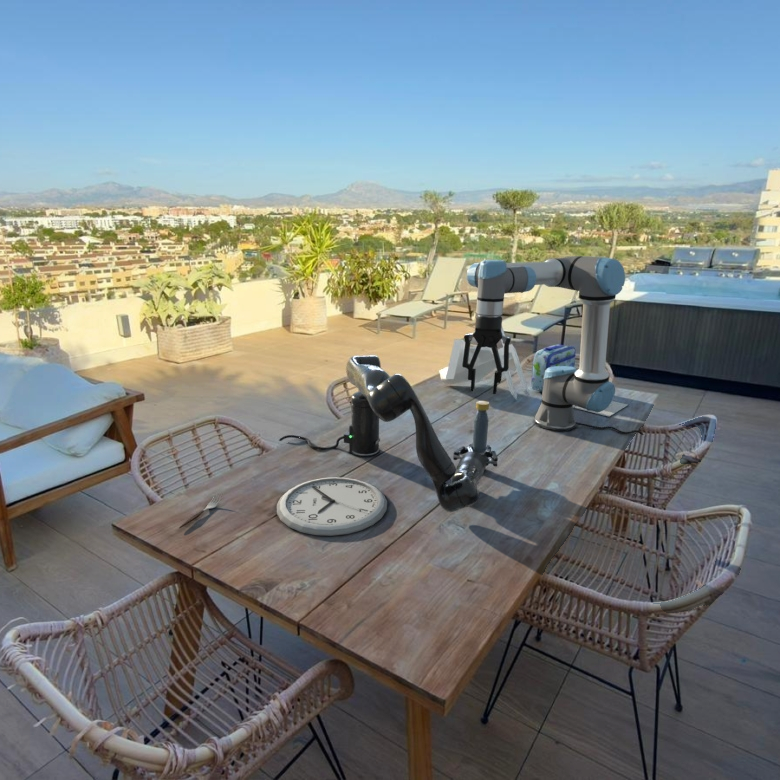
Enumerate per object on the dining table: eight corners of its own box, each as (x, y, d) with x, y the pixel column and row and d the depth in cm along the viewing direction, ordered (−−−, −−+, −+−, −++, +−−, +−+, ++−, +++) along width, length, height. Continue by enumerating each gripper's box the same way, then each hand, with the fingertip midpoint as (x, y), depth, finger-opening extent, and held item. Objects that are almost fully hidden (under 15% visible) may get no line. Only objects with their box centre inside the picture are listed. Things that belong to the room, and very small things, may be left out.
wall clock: (392, 527, 129) (268, 531, 127) (391, 533, 130) (269, 537, 127) (383, 473, 158) (282, 475, 155) (383, 478, 158) (282, 480, 156)
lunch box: (547, 397, 237) (552, 352, 231) (526, 391, 245) (531, 348, 238) (574, 386, 255) (580, 344, 249) (554, 381, 262) (559, 340, 256)
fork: (174, 529, 130) (174, 521, 130) (216, 499, 144) (215, 492, 144) (183, 531, 129) (182, 524, 129) (223, 501, 144) (223, 494, 143)
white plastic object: (461, 429, 252) (437, 405, 227) (444, 352, 274) (420, 323, 250) (535, 404, 240) (518, 377, 215) (510, 326, 262) (492, 293, 237)
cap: (473, 407, 160) (474, 401, 160) (484, 405, 162) (484, 400, 161) (480, 411, 157) (481, 405, 156) (491, 409, 158) (491, 403, 158)
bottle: (468, 468, 166) (473, 402, 160) (479, 465, 168) (484, 401, 162) (475, 473, 163) (480, 406, 156) (487, 471, 164) (492, 405, 158)
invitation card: (608, 416, 214) (573, 407, 224) (608, 416, 214) (573, 408, 224) (628, 404, 229) (594, 396, 238) (628, 405, 229) (594, 397, 238)
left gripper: (496, 461, 147) (504, 439, 163) (446, 453, 152) (459, 432, 167) (494, 485, 149) (502, 461, 165) (445, 476, 154) (458, 454, 169)
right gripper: (523, 315, 152) (516, 391, 158) (458, 311, 157) (454, 384, 164) (522, 319, 145) (514, 398, 152) (454, 315, 150) (450, 391, 157)
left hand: (480, 446), depth 166 cm, fingers closed on bottle, 4 cm apart
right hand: (483, 391), depth 158 cm, fingers open, 6 cm apart
